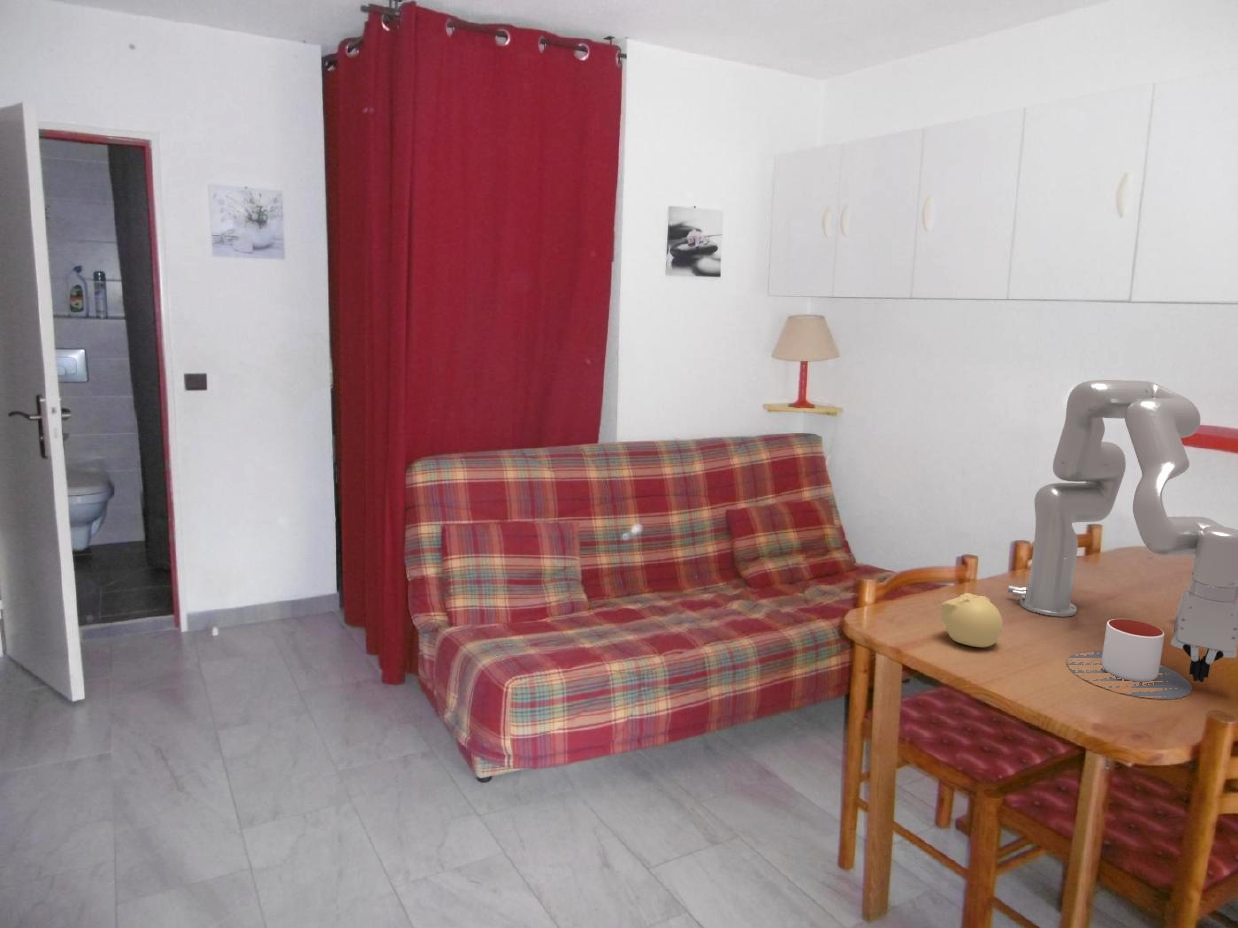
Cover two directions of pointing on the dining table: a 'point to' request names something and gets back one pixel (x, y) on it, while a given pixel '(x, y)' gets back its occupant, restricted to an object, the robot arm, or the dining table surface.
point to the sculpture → (972, 620)
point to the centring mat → (1172, 678)
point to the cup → (1132, 650)
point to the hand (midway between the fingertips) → (1197, 678)
